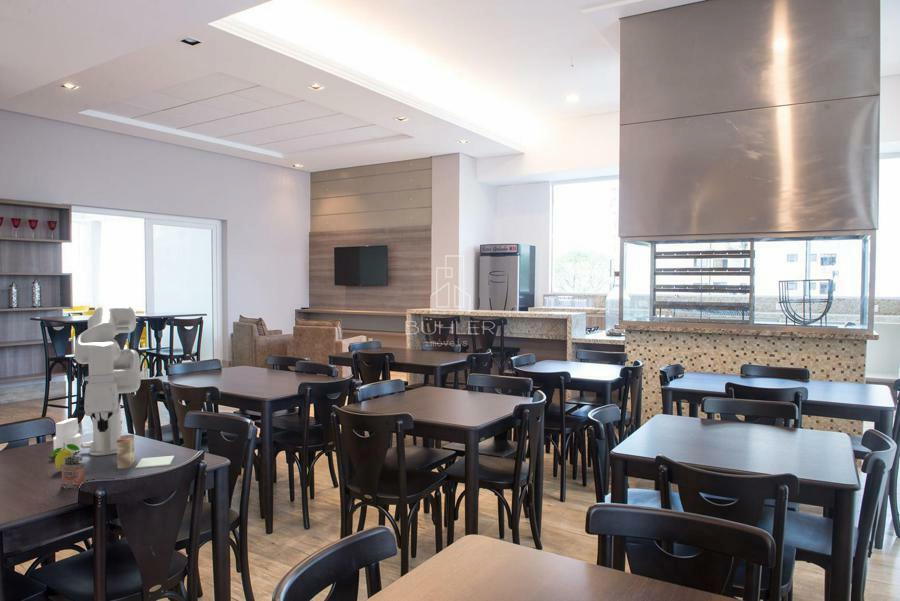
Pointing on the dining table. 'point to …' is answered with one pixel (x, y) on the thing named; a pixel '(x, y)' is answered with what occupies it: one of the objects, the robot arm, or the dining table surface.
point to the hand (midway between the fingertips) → (103, 431)
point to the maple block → (125, 451)
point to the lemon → (63, 454)
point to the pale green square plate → (155, 462)
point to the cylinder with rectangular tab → (67, 434)
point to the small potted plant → (72, 472)
